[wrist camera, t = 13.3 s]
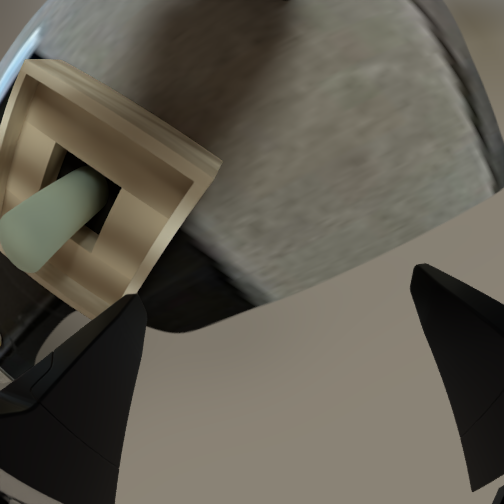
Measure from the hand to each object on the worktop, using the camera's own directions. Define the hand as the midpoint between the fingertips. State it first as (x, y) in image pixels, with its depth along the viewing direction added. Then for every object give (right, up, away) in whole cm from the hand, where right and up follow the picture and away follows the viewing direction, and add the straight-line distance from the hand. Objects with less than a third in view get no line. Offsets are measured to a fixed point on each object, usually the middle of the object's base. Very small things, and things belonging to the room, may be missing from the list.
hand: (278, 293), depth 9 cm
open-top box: (-14, +6, +12) cm, 19 cm away
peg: (-14, +6, +12) cm, 19 cm away
